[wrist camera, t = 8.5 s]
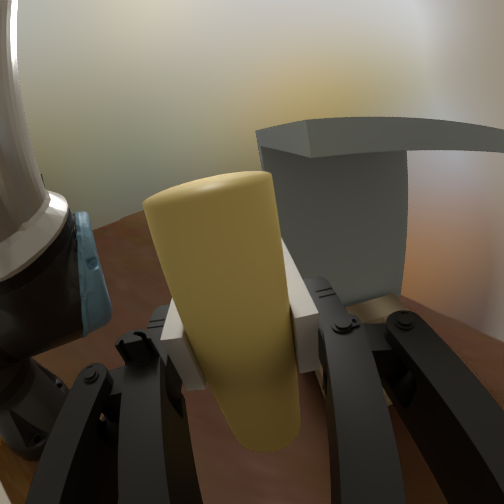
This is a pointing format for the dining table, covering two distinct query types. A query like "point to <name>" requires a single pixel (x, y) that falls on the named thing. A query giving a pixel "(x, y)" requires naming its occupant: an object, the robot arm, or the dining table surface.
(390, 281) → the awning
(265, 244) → the peg
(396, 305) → the socket block
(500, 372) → the dining table surface
